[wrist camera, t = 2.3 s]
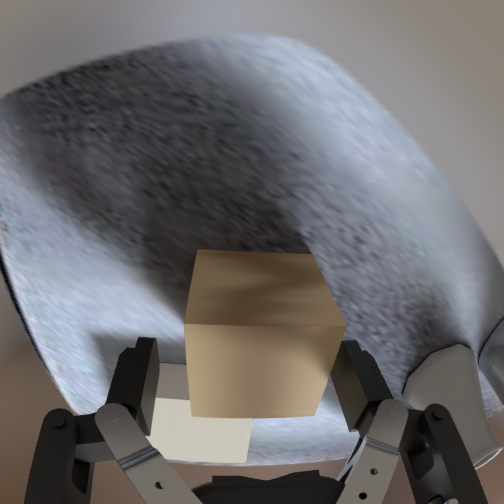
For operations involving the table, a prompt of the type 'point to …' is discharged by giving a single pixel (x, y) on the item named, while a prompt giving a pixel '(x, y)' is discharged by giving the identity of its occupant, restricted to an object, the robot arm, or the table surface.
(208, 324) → the oak block
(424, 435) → the robot arm
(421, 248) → the table surface
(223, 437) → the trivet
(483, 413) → the flask
